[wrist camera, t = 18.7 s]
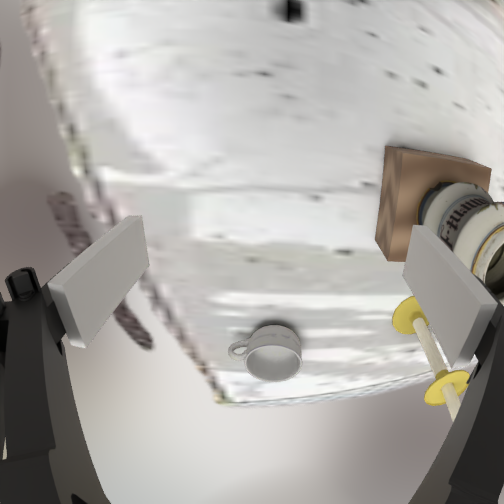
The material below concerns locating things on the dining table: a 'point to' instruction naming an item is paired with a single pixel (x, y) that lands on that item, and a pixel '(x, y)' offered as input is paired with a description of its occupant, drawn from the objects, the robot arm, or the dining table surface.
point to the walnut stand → (415, 192)
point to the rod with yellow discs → (431, 357)
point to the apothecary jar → (468, 228)
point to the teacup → (270, 354)
